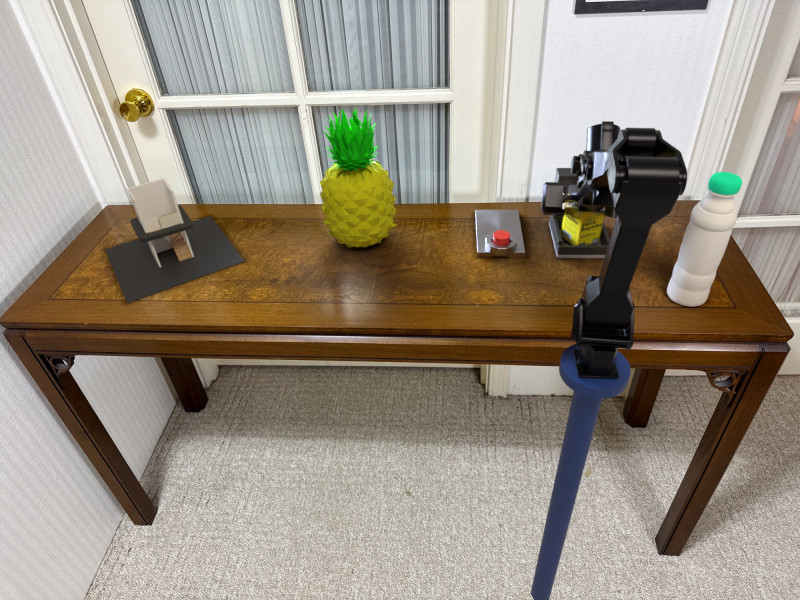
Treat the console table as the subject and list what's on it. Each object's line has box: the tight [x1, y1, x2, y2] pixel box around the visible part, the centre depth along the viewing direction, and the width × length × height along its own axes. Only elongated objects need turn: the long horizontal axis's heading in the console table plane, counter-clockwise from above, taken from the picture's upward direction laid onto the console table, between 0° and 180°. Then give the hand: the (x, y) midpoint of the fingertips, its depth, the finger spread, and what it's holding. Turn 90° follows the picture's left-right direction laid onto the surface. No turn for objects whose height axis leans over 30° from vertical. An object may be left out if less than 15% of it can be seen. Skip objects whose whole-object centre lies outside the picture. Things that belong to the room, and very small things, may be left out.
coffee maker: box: [548, 167, 611, 259], centre depth 120 cm, size 14×11×14 cm
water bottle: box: [666, 171, 743, 308], centre depth 100 cm, size 7×7×25 cm
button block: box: [474, 209, 526, 258], centre depth 126 cm, size 19×10×3 cm, turn 176°
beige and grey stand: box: [104, 177, 245, 304], centre depth 122 cm, size 25×24×16 cm
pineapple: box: [319, 106, 397, 248], centre depth 120 cm, size 17×17×30 cm
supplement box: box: [561, 192, 606, 245], centre depth 119 cm, size 6×6×11 cm
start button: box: [493, 230, 510, 246], centre depth 120 cm, size 4×4×2 cm
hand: (583, 211), depth 119 cm, fingers closed on supplement box, 8 cm apart
